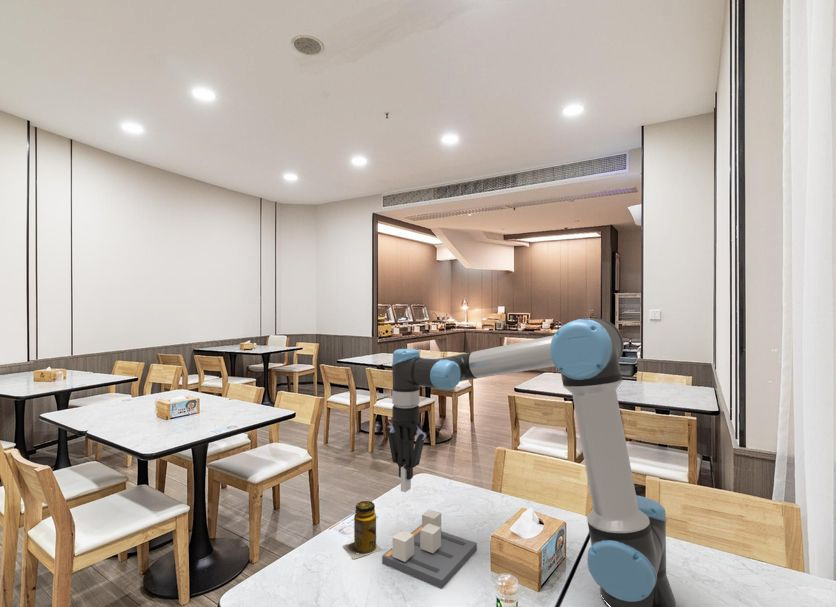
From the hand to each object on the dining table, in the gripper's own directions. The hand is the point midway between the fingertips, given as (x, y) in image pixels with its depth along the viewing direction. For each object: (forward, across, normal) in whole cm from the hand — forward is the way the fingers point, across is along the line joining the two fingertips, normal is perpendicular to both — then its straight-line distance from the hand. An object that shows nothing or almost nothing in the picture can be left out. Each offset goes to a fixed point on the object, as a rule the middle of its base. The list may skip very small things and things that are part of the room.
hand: (405, 489), depth 118 cm
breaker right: (+13, -4, -7) cm, 16 cm away
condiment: (+16, +10, +7) cm, 20 cm away
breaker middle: (+13, -8, 0) cm, 16 cm away
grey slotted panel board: (+16, -8, 0) cm, 18 cm away
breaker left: (+13, -4, +7) cm, 16 cm away
